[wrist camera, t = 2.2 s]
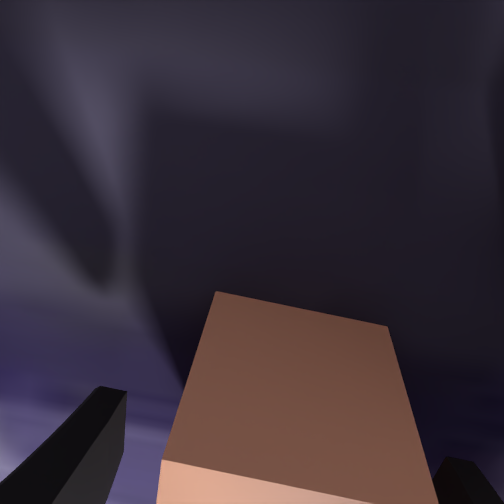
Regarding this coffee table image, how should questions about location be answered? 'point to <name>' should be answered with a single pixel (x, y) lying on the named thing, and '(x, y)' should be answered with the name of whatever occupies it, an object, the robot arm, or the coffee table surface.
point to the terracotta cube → (293, 413)
